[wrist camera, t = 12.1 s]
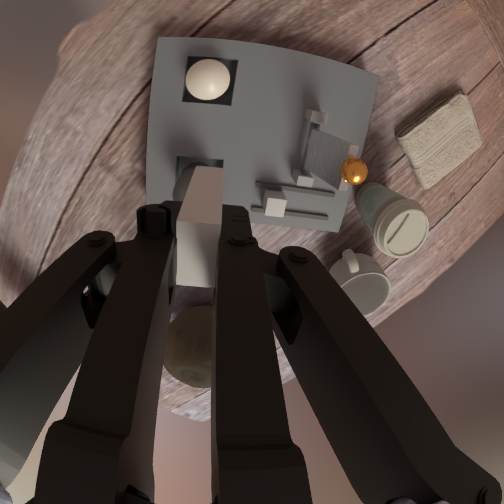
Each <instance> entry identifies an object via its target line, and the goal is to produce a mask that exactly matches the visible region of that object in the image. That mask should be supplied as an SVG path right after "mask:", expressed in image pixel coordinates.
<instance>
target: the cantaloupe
mask: <svg viewBox="0 0 504 504" xmlns="http://www.w3.org/2000/svg"><path fill="white" fill-rule="evenodd" d="M212 310H213V306H210V305H201V306H195V307H192V308H190V309H188V310H186V311H185V312H183V313H181V314H180V315H178V316H177V317H176V318H175V319H174V320H173V321H172V322H171V323H170V324H169V329H168V335H167V341H166V348H165V354H164V361H163V364H164V367H165V368H166V370H167V371H168V372H169V373H170V374H171V375H172V376H173V377H174V378H176V379H177V380H179V381H181V382H183V383H185V384H187V385H190V386H192V387H196V388H210V387H211V364H212V326H213V312H212Z"/></svg>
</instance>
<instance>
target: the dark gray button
mask: <svg viewBox="0 0 504 504" xmlns="http://www.w3.org/2000/svg"><path fill="white" fill-rule="evenodd" d="M196 166H205V167H211V166H209V165H208V164H206V163H203V162H194V163H191V164H189V165H187V166H186V167H185V168H184V169H183V170H182V172H181V174H180V176H179V178H178V180H177V182H176V184H175V186H174V188H173V193H172V197H173V201H183V200H184V198H185V195H186V192H187V189H188V187H189V184H190V181H191V179H192V176H193V173H194V171H195V168H196Z"/></svg>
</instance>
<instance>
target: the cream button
mask: <svg viewBox="0 0 504 504" xmlns="http://www.w3.org/2000/svg"><path fill="white" fill-rule="evenodd" d="M229 83H230V74H229V71H228V69H227V68H226V66H225V65H224V64H222V63H221V62H219V61H217V60H212V59H205V60H201V61H199V62H197V63H195V64H194V65H193V66H192V67H191V68H190V69H189V70H188V72H187V75H186V86H187V89H188V91H189V92H190V93H191V94H192V95H193V96H194V97H196V98H199V99H202V100H211V99H215V98H217V97H219V96H221V95H222V94H223V93H224V92H225V91H226V90H227V88H228V86H229Z"/></svg>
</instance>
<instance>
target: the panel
mask: <svg viewBox="0 0 504 504" xmlns="http://www.w3.org/2000/svg"><path fill="white" fill-rule="evenodd" d="M205 59H212V60H217V61H219V62H221V63H222V64H224V65H225V66H226V68H227V69H228V71H229V74H230V83H229V86H228V88H227V90H226V91H225V92H224V93H223V94H222V95H221V96H219V97H217V98H215V99H211V100H202V99H199V98H196V97H194V96H193V95H192V94H191V93H190V92H189V91H188V89H187V86H186V75H187V72H188V70H189V69H190V68H191V67H192V66H193V65H194V64H195V63H197V62H199V61H201V60H205ZM378 80H379V75H376V74H374V73H371V72H368V71H366V70H363V69H360V68H357V67H354V66H351V65H348V64H345V63H341V62H338V61H335V60H331V59H328V58H324V57H321V56H317V55H313V54H309V53H305V52H300V51H296V50H291V49H287V48H282V47H276V46H271V45H265V44H259V43H252V42H244V41H236V40H226V39H215V38H198V37H158V40H157V47H156V53H155V60H154V68H153V76H152V85H151V94H150V105H149V118H148V133H147V155H146V205H149V204H161V203H162V202H164V201H165V200H170V201H173V197H172V193H173V188H174V186H175V184H176V182H177V180H178V178H179V176H180V174H181V172H182V170H183V169H184V168H185V167H186V166H187V165H189V164H191V163H194V162H203V163H206V164H208V165H209V166H211V167H216V168H224V177H223V199H222V204H227V205H237V206H244V207H245V208H246V209H247V210H248V211H249V218H250V223H257V224H267V225H277V226H286V227H295V228H304V229H313V230H321V231H329V232H339V229H340V226H341V223H342V220H343V217H344V214H345V210H346V207H347V204H348V200H349V197H350V194H351V190H352V187H353V185H351V184H349V186H348V189H347V191H339V190H337V189H335V188H334V187H332V186H331V185H329V184H328V183H326V182H325V181H323V180H322V179H320V178H319V177H317V176H316V175H314V174H313V173H311V172H310V174H304V173H302V172H300V170H301V166H302V161H303V156H304V152H305V147H306V142H307V138H308V133H309V128H310V123H311V122H314V123H318V124H321V125H320V130H321V131H324V132H326V133H329V134H331V135H334V136H336V137H339V138H341V139H344V140H346V141H348V142H351V143H353V144H355V145H358V146H359V149H358V153H357V156H356V158H359V159H360V158H361V154H362V150H363V147H364V143H365V139H366V135H367V130H368V126H369V122H370V118H371V113H372V109H373V104H374V100H375V95H376V90H377V85H378ZM265 189H268V190H275V191H283V193H284V195H285V197H286V199H287V203H286V207H285V212H284V216H283V217H275V216H266V215H264V211H263V207H262V204H263V198H264V193H265Z"/></svg>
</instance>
